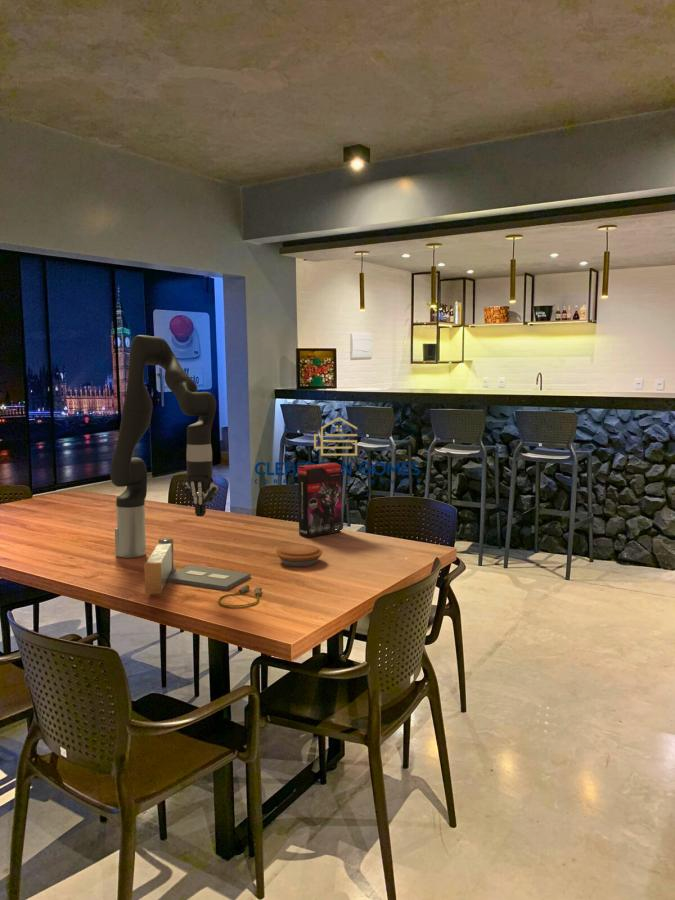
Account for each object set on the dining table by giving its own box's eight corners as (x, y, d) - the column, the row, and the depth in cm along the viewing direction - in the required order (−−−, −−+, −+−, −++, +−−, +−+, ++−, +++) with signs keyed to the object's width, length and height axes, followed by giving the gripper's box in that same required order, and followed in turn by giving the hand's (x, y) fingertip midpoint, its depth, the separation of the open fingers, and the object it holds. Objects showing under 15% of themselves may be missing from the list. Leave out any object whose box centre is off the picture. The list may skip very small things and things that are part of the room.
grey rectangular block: (160, 566, 215) (159, 538, 214) (174, 566, 215) (174, 538, 214) (145, 594, 188) (144, 562, 187) (161, 594, 188) (160, 562, 187)
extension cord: (278, 598, 192) (278, 591, 191) (235, 613, 180) (235, 606, 179) (248, 589, 199) (248, 582, 199) (206, 602, 187) (206, 595, 187)
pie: (305, 553, 238) (305, 539, 237) (331, 563, 225) (331, 549, 225) (267, 560, 229) (267, 546, 228) (292, 571, 216) (292, 556, 216)
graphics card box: (307, 538, 259) (307, 467, 255) (296, 535, 264) (297, 465, 261) (342, 532, 269) (343, 464, 266) (331, 529, 274) (332, 462, 271)
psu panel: (144, 577, 208) (144, 573, 207) (172, 566, 220) (172, 561, 220) (226, 590, 197) (226, 585, 196) (250, 577, 209) (250, 572, 209)
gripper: (173, 459, 203) (174, 516, 205) (211, 461, 198) (212, 520, 200) (188, 456, 210) (189, 512, 212) (225, 458, 205) (225, 515, 206)
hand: (200, 515), depth 206 cm, fingers closed
